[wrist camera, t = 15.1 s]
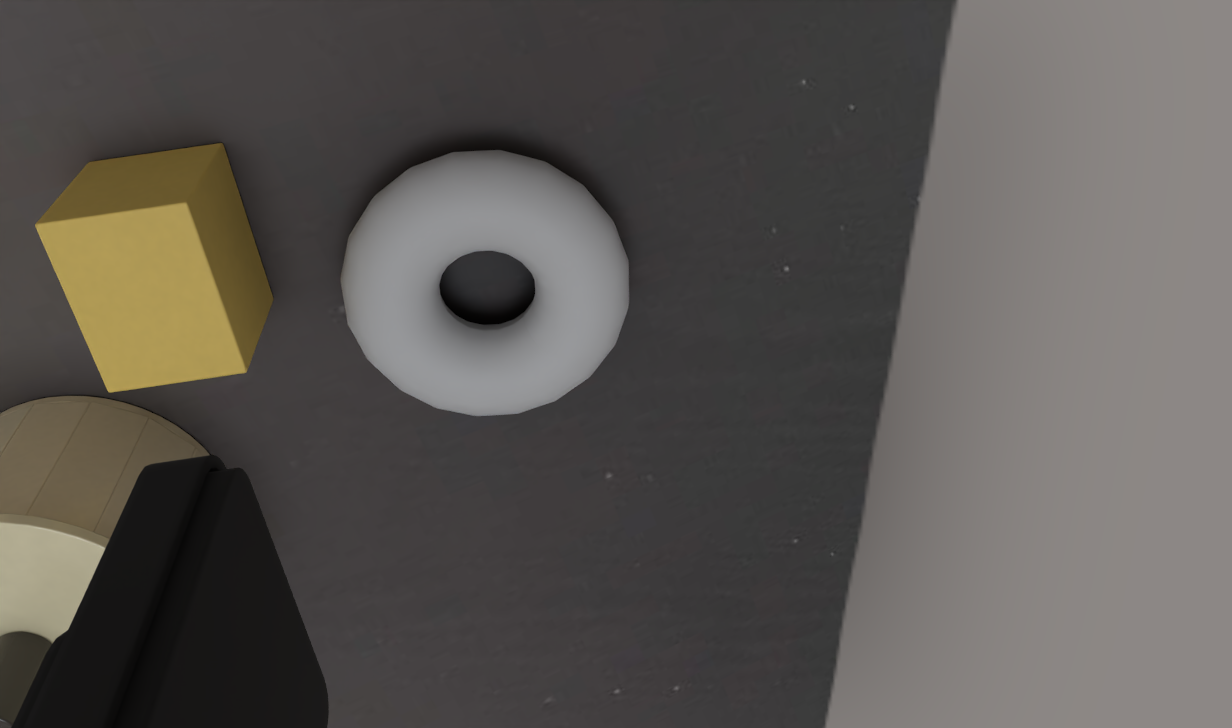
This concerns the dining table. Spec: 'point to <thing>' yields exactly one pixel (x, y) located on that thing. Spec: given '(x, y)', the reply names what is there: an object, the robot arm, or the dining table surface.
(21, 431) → the pot
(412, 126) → the dining table surface
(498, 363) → the donut
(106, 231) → the cheese
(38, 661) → the pot lid
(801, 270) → the dining table surface
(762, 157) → the dining table surface
